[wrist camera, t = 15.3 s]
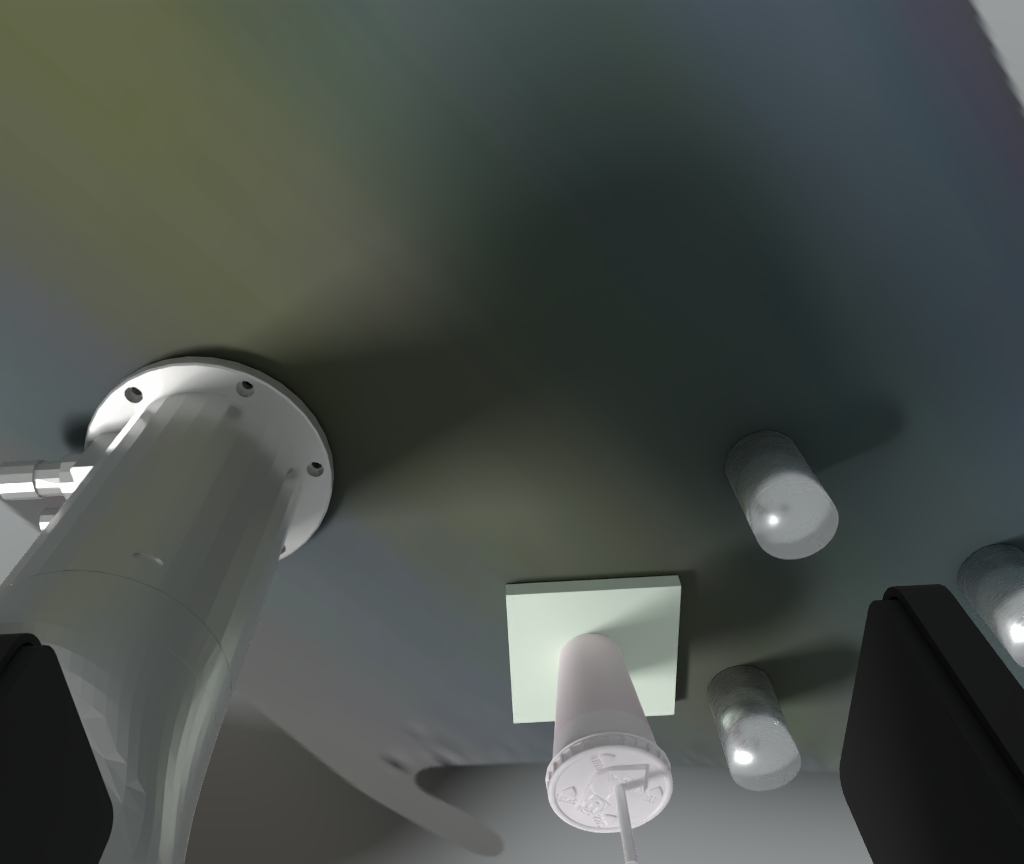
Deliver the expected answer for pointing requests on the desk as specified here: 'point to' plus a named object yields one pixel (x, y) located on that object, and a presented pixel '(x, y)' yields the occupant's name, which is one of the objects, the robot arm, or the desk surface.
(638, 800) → the smoothie
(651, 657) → the coaster mat
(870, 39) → the desk surface
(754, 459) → the set of grey cylinders
